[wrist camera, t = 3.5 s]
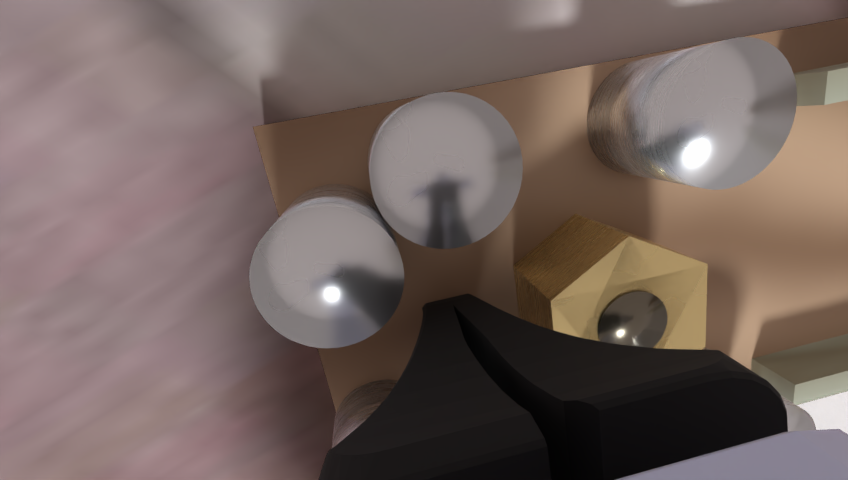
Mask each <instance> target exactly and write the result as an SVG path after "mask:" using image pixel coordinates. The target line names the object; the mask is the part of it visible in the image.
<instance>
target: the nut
mask: <svg viewBox="0 0 848 480" xmlns="http://www.w3.org/2000/svg"><path fill="white" fill-rule="evenodd" d="M513 269H514V277H515V285H516V293H517V301H518V310H519V318H520V319H523V320H525V321H528V322H531V323H533V324H536V325H538V326H541V327H544V328H547V329H550V330H554V331H558V332H561V333H565V334H568V335H572V336H576V337H581V338H585V339H590V340H596V341H601V342H607V343H613V344H620V345H628V346H638V347H649V348H660V349H696V350H702V349H703V348H704V347H705V343H706V306H707V270H708V264H706V263H704V262H701V261H699V260H696V259H694V258H692V257H689V256H687V255H684V254H682V253H679V252H677V251H674V250H672V249H669V248H667V247H664V246H662V245H660V244H657V243H655V242H652V241H650V240H647V239H645V238H642V237H640V236H637V235H634V234H631V233H629V232H626V231H623V230H620V229H617V228H614V227H612V226H609V225H606V224H603V223H600V222H598V221H595V220H592V219H589V218H586V217H584V216H581V215H578V214H574V215H573V216H572V217H570V218H569V219H568V220H567V221H566V222H565V223H563V224H562V225H561V226H560V227H559V228H557V229H556V230H555V231H554V232H553V233H551V234H550V235H549V236H548V237H547V238H545V239H544V240H543V241H542V242H541V243H540V244H538V245H537V246H536V247H535V248H534V249H532V250H531V251H530V252H529V253H528V254H526V255H525V256H524V257H523V258H522V259H520V260H519V261H518V262H517V263H516V264H515V265H513Z"/></svg>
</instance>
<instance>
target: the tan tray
mask: <svg viewBox="0 0 848 480" xmlns="http://www.w3.org/2000/svg"><path fill="white" fill-rule="evenodd" d="M744 37H753V38H757V39H761V40H764V41H766V42H768V43H770V44H772V45H773V46H775V47H776V48H777V49H778V50H779V51H780V52H781V53H782V54H783V55H784V56H785V58H786V59H787V61H788V62H789V64H790V66H791V68H792V71H793V74H794V77H795V82H796V88H797V106H796V113H795V117H794V121H793V125H792V127H791V130H790V133H789V135H788V137H787V139H786V141H785V143H784V145H783V147H782V148H781V150H780V151H779V153H778V154H777V155H776V157H775V158H774V159H773V160H772V162H771V163H770V164H769V165H768V166H767V167H766V168H765V169H764V170H763V171H761V172H760V173H759V174H758V175H756V176H755V177H753V178H752V179H750V180H748V181H747V182H745V183H743V184H740V185H738V186H735V187H732V188H728V189H721V190H711V189H704V188H699V187H693V186H688V185H683V184H678V183H672V182H667V181H662V180H657V179H651V178H646V177H641V176H636V175H630V174H625V173H620V172H617V171H614V170H612V169H610V168H608V167H607V166H605V165H604V164H603V163H602V162H601V161H599V159H598V158H597V157H596V155H595V154H594V152H593V150H592V148H591V146H590V143H589V140H588V135H587V115H588V110H589V106H590V103H591V100H592V98H593V96H594V94H595V92H596V90H597V89H598V87H599V86H600V84H601V83H602V82H603V80H604V79H605V78H606V77H607V76H608V75H609V74H610V73H612V72H613V71H614V70H616V69H617V68H619V67H620V66H622V65H624V64H627V63H629V62H632V61H636V60H640V59H645V58H649V57H654V56H658V55H662V54H667V53H671V52H675V51H680V50H684V49H688V48H693V47H697V46H701V45H706V44H710V43H706V44H701V45H695V46H690V47H684V48H679V49H674V50H668V51H663V52H657V53H652V54H646V55H641V56H636V57H630V58H625V59H619V60H614V61H608V62H603V63H598V64H592V65H587V66H581V67H576V68H570V69H565V70H559V71H554V72H549V73H543V74H538V75H532V76H527V77H521V78H516V79H511V80H505V81H500V82H494V83H489V84H483V85H478V86H473V87H467V88H462V89H456V90H451V91H445V92H458V93H464V94H468V95H471V96H474V97H477V98H479V99H481V100H483V101H485V102H487V103H488V104H490V105H491V106H493V107H494V108H495V109H496V110H497V111H499V112H500V113H501V114H502V115H503V117H504V118H505V119H506V120H507V121H508V123H509V124H510V126H511V127H512V129H513V131H514V133H515V135H516V137H517V139H518V142H519V146H520V149H521V154H522V162H523V173H522V182H521V187H520V191H519V194H518V197H517V199H516V201H515V203H514V206H513V208H512V209H511V211H510V212H509V214H508V215H507V217H506V218H505V219H504V220H503V222H502V223H501V224H500V225H499V226H498V227H497V228H496V229H495V230H494V231H492V232H491V233H490V234H488V235H487V236H485V237H484V238H482V239H480V240H478V241H476V242H474V243H472V244H469V245H466V246H462V247H458V248H451V249H437V248H430V247H425V246H422V245H419V244H416V243H414V242H412V241H410V240H408V239H406V238H404V237H403V236H402V235H400V234H399V233H397V232H396V231H395V230H394V229H393V231H394V235H395V238H396V242H397V245H398V249H399V252H400V255H401V259H402V262H403V268H404V288H403V293H402V296H401V300H400V302H399V305H398V307H397V309H396V311H395V312H394V314H393V315H392V317H391V318H390V319H389V321H388V322H387V323H386V324H385V325H384V326H383V327H382V328H381V329H380V330H378V331H377V332H376V333H375V334H373V335H372V336H370V337H368V338H366V339H365V340H363V341H360V342H358V343H355V344H352V345H349V346H345V347H339V348H317V349H318V352H319V355H320V359H321V362H322V366H323V369H324V372H325V376H326V379H327V383H328V386H329V390H330V393H331V396H332V400H333V403H334V407H335V410H336V412H337V409H338V407H339V405H340V404H341V402H342V401H343V400H344V398H345V397H346V396H347V395H348V394H349V393H350V392H352V391H353V390H354V389H356V388H358V387H360V386H361V385H364V384H366V383H369V382H372V381H377V380H397V381H398V380H399V378H400V377H401V375H402V373H403V371H404V369H405V368H406V366H407V364H408V362H409V359H410V357H411V355H412V352H413V350H414V347H415V345H416V342H417V339H418V336H419V332H420V328H421V324H422V319H423V310H422V307H423V306H424V305H425V303H429V302H433V301H438V300H442V299H446V298H450V297H455V296H459V295H463V294H471V295H473V296H475V297H477V298H479V299H481V300H483V301H485V302H487V303H489V304H491V305H492V306H494V307H496V308H498V309H501V310H503V311H505V312H507V313H509V314H511V315H513V316H516V317H518V318H519V310H518V301H517V293H516V285H515V277H514V269H513V265H515V264H516V263H517V262H518V261H519V260H520V259H522V258H523V257H524V256H525V255H526V254H528V253H529V252H530V251H531V250H532V249H534V248H535V247H536V246H537V245H538V244H540V243H541V242H542V241H543V240H544V239H545V238H547V237H548V236H549V235H550V234H551V233H553V232H554V231H555V230H556V229H557V228H559V227H560V226H561V225H562V224H563V223H565V222H566V221H567V220H568V219H569V218H570V217H572V216H573V215H574V214H578V215H581V216H584V217H586V218H589V219H592V220H595V221H598V222H600V223H603V224H606V225H609V226H612V227H614V228H617V229H620V230H623V231H626V232H629V233H631V234H634V235H637V236H640V237H642V238H645V239H647V240H650V241H652V242H655V243H657V244H660V245H662V246H664V247H667V248H669V249H672V250H674V251H677V252H679V253H682V254H684V255H687V256H689V257H692V258H694V259H696V260H699V261H701V262H704V263H706V264H708V270H707V306H706V343H705V347H704V348H707V349H710V350H720V351H721V352H723V353H724V354H726V355H728V356H729V357H731V358H732V359H734V360H735V361H737V362H739V363H740V364H742V365H743V366H745V367H746V368H748V369H750V370H751V371H753V372H754V373H756V374H757V375H759V376H761V377H762V378H764V379H765V380H767V381H768V382H769V383H770V384H771V385H772V386H773V387H774V388H775V389H776V390H777V391H778V392H779V393H780V395H781V396H783V397H785V398H786V399H788V400H789V401H791V402H792V403H794V404H795V405H799V404H802V403H806V402H810V401H813V400H817V399H821V398H824V397H828V396H831V395H835V394H839V393H842V392H846V391H848V17H847V18H842V19H837V20H831V21H826V22H820V23H815V24H809V25H804V26H799V27H793V28H788V29H782V30H777V31H771V32H766V33H761V34H755V35H750V36H744ZM722 41H723V40H722ZM717 42H719V41H717ZM712 43H714V42H712ZM424 96H425V95H424ZM420 97H423V96H418V97H413V98H407V99H402V100H396V101H391V102H386V103H380V104H375V105H369V106H364V107H358V108H353V109H348V110H342V111H337V112H331V113H326V114H320V115H315V116H310V117H304V118H299V119H293V120H288V121H282V122H277V123H271V124H266V125H261V126H255V127H253V129H254V133H255V136H256V140H257V143H258V146H259V150H260V153H261V157H262V160H263V164H264V167H265V170H266V174H267V177H268V181H269V184H270V188H271V191H272V194H273V198H274V201H275V205H276V208H277V212H278V215H279V217H280V216H281V215H282V214H283V213H284V212H285V210H286V209H287V208H288V207H289V206H290V205H291V204H292V203H293V202H294V201H295V200H296V199H297V198H298V197H299V196H300V195H302V194H303V193H305V192H306V191H308V190H310V189H313V188H315V187H318V186H322V185H328V184H343V185H349V186H353V187H356V188H358V189H361V190H363V191H365V192H366V193H368V194H369V195H371V196H372V197H373V194H372V190H371V184H370V177H369V170H368V149H369V145H370V141H371V138H372V136H373V133H374V132H375V130H376V128H377V126H378V125H379V124H380V122H381V121H382V120H383V119H384V118H385V117H386V116H387V115H388V114H389V113H390V112H392V111H393V110H395V109H396V108H398V107H400V106H402V105H404V104H406V103H409V102H411V101H413V100H415V99H418V98H420Z"/></svg>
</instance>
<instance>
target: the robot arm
mask: <svg viewBox="0 0 848 480" xmlns="http://www.w3.org/2000/svg"><path fill="white" fill-rule="evenodd" d="M422 310H423V319H422V324H421V328H420V332H419V336H418V339H417V342H416V345H415V347H414V350H413V352H412V355H411V357H410V359H409V362H408V364H407V366H406V368H405V369H404V371H403V373H402V375H401V377H400V378H399V380H398V381H397V383H396V384H395V386H394V387H393V389H392V390H391V392H390V393H389V395H388V396H387V397H386V399H385V400H384V401H383V402H382V403H381V404H380V405H379V407H378V408H377V409H376V410H375V411H374V412H373V413H372V414H371V415H370V416H369V417H368V418H367V419H366V420H365V421H364V422H363V423H362V424H361V425H360V426H359V427H357V428H356V429H355V430H354V431H353V432H351V433H350V434H349V435H348V436H347V437H345V438H344V439H343V440H342V441H341V442H339V443H338V444H337V445H336V446H334V447H333V448H332V449H330V450H329V451H328V453H327V455H326V458H325V461H324V464H323V467H322V470H321V474H320V477H319V480H848V434H846V433H845V432H843V431H842V430H840V429H830V430H806V431H789V432H788V422H787V410H786V407H785V405H784V402H783V400H782V397H781V395H780V393H779V392H778V391H777V390H776V389H775V388H774V387H773V386H772V385H771V384H770V383H769V382H768V381H767V380H765V379H764V378H762V377H761V376H759V375H757V374H756V373H754V372H753V371H751V370H750V369H748V368H746V367H745V366H743V365H742V364H740V363H739V362H737V361H735V360H734V359H732V358H731V357H729V356H728V355H726V354H724V353H723V352H721V351H720V350H696V349H660V348H649V347H638V346H628V345H620V344H613V343H607V342H601V341H596V340H590V339H585V338H581V337H576V336H572V335H568V334H565V333H561V332H558V331H554V330H550V329H547V328H544V327H541V326H538V325H536V324H533V323H531V322H528V321H525V320H523V319H520V318H518V317H516V316H513V315H511V314H509V313H507V312H505V311H503V310H501V309H498V308H496V307H494V306H492V305H491V304H489V303H487V302H485V301H483V300H481V299H479V298H477V297H475V296H473V295H471V294H463V295H459V296H455V297H450V298H446V299H442V300H438V301H433V302H429V303H425V305H424V306H423V307H422Z"/></svg>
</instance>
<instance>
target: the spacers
mask: <svg viewBox="0 0 848 480" xmlns="http://www.w3.org/2000/svg"><path fill="white" fill-rule="evenodd" d="M796 106H797V88H796V82H795V77H794V74H793V71H792V68H791V66H790V64H789V62H788V61H787V59H786V58H785V56H784V55H783V54H782V53H781V52H780V51H779V50H778V49H777V48H776V47H775V46H773V45H772V44H770V43H768V42H766V41H764V40H761V39H757V38H753V37H738V38H732V39H728V40H723V41H719V42H714V43H710V44H706V45H701V46H697V47H693V48H688V49H684V50H680V51H675V52H671V53H667V54H662V55H658V56H654V57H649V58H645V59H640V60H636V61H632V62H629V63H627V64H624V65H622V66H620V67H619V68H617V69H616V70H614V71H613V72H612V73H610V74H609V75H608V76H607V77H606V78H605V79H604V80H603V82H602V83H601V84H600V86H599V87H598V89H597V90H596V92H595V94H594V96H593V98H592V100H591V103H590V106H589V110H588V115H587V135H588V140H589V143H590V146H591V148H592V150H593V152H594V154H595V155H596V157H597V158H598V159H599V161H601V162H602V163H603V164H604V165H605V166H607V167H608V168H610V169H612V170H614V171H617V172H620V173H625V174H630V175H636V176H641V177H646V178H651V179H657V180H662V181H667V182H672V183H678V184H683V185H688V186H693V187H699V188H704V189H711V190H721V189H728V188H732V187H735V186H738V185H740V184H743V183H745V182H747V181H748V180H750V179H752V178H753V177H755V176H756V175H758V174H759V173H760V172H761V171H763V170H764V169H765V168H766V167H767V166H768V165H769V164H770V163H771V162H772V160H773V159H774V158H775V157H776V155H777V154H778V153H779V151H780V150H781V148H782V147H783V145H784V143H785V141H786V139H787V137H788V135H789V133H790V130H791V127H792V125H793V121H794V117H795V113H796ZM368 170H369V177H370V184H371V190H372V194H373V197H372V196H371V195H369V194H368V193H366V192H365V191H363V190H361V189H358V188H356V187H353V186H349V185H343V184H328V185H322V186H318V187H315V188H313V189H310V190H308V191H306V192H305V193H303V194H302V195H300V196H299V197H298V198H297V199H296V200H295V201H294V202H293V203H292V204H291V205H290V206H289V207H288V208H287V209H286V210H285V212H284V213H283V214H282V215H281V216H280V217H279V218H278V220H277V221H276V222H275V223H274V224H273V225H272V226H271V228H270V229H269V230H268V231H267V232H266V233H265V235H264V236H263V237H262V239H261V240H260V241H259V243H258V245H257V247H256V249H255V251H254V254H253V257H252V259H251V264H250V271H249V282H250V290H251V294H252V297H253V300H254V302H255V305H256V307H257V309H258V310H259V312H260V314H261V315H262V317H263V318H264V319H265V320H266V322H267V323H268V324H269V325H270V326H271V327H272V328H273V329H275V330H276V331H277V332H279V333H280V334H281V335H283V336H285V337H286V338H288V339H290V340H292V341H294V342H297V343H299V344H302V345H306V346H310V347H316V348H339V347H345V346H349V345H352V344H355V343H358V342H360V341H363V340H365V339H366V338H368V337H370V336H372V335H373V334H375V333H376V332H377V331H378V330H380V329H381V328H382V327H383V326H384V325H385V324H386V323H387V322H388V321H389V319H390V318H391V317H392V315H393V314H394V312H395V311H396V309H397V307H398V305H399V302H400V300H401V296H402V293H403V288H404V268H403V262H402V259H401V255H400V252H399V249H398V245H397V242H396V238H395V235H394V231H393V229H394V230H395V231H396V232H397V233H399V234H400V235H402V236H403V237H404V238H406V239H408V240H410V241H412V242H414V243H416V244H419V245H422V246H425V247H430V248H437V249H451V248H458V247H462V246H466V245H469V244H472V243H474V242H476V241H478V240H480V239H482V238H484V237H485V236H487V235H488V234H490V233H491V232H492V231H494V230H495V229H496V228H497V227H498V226H499V225H500V224H501V223H502V222H503V220H504V219H505V218H506V217H507V215H508V214H509V212H510V211H511V209H512V208H513V206H514V203H515V201H516V199H517V197H518V194H519V191H520V187H521V182H522V173H523V162H522V154H521V149H520V146H519V142H518V139H517V137H516V135H515V133H514V131H513V129H512V127H511V126H510V124H509V123H508V121H507V120H506V119H505V118H504V117H503V115H502V114H501V113H500V112H499V111H497V110H496V109H495V108H494V107H493V106H491V105H490V104H488V103H487V102H485V101H483V100H481V99H479V98H477V97H474V96H471V95H468V94H464V93H458V92H439V93H433V94H429V95H425V96H423V97H420V98H418V99H415V100H413V101H411V102H409V103H406V104H404V105H402V106H400V107H398V108H396V109H395V110H393V111H392V112H390V113H389V114H388V115H387V116H386V117H385V118H384V119H383V120H382V121H381V122H380V124H379V125H378V126H377V128H376V130H375V132H374V133H373V136H372V138H371V141H370V145H369V149H368ZM702 350H710V349H707V348H703V349H702ZM396 383H397V380H377V381H372V382H369V383H366V384H364V385H361V386H360V387H358V388H356V389H354V390H353V391H352V392H350V393H349V394H348V395H347V396H346V397H345V398H344V400H343V401H342V402H341V404H340V405H339V407H338V409H337V412H336V415H335V420H334V430H333V441H332V448H333V447H334V446H336V445H337V444H338V443H339V442H341V441H342V440H343V439H344V438H345V437H347V436H348V435H349V434H350V433H351V432H353V431H354V430H355V429H356V428H357V427H359V426H360V425H361V424H362V423H363V422H364V421H365V420H366V419H367V418H368V417H369V416H370V415H371V414H372V413H373V412H374V411H375V410H376V409H377V408H378V407H379V405H380V404H381V403H382V402H383V401H384V400H385V399H386V397H387V396H388V395H389V393H390V392H391V390H392V389H393V387H394V386H395V384H396ZM781 397H782V400H783V402H784V405H785V407H786V410H787V422H788V432H789V431H806V430H816V427H815V424H814V421H813V419H812V417H811V416H810V415H809V414H808V413H807V412H806V411H805V410H803V409H801V408H800V407H798V406H797V405H795V404H794V403H792V402H791V401H789V400H788V399H786V398H785V397H783V396H781Z"/></svg>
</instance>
